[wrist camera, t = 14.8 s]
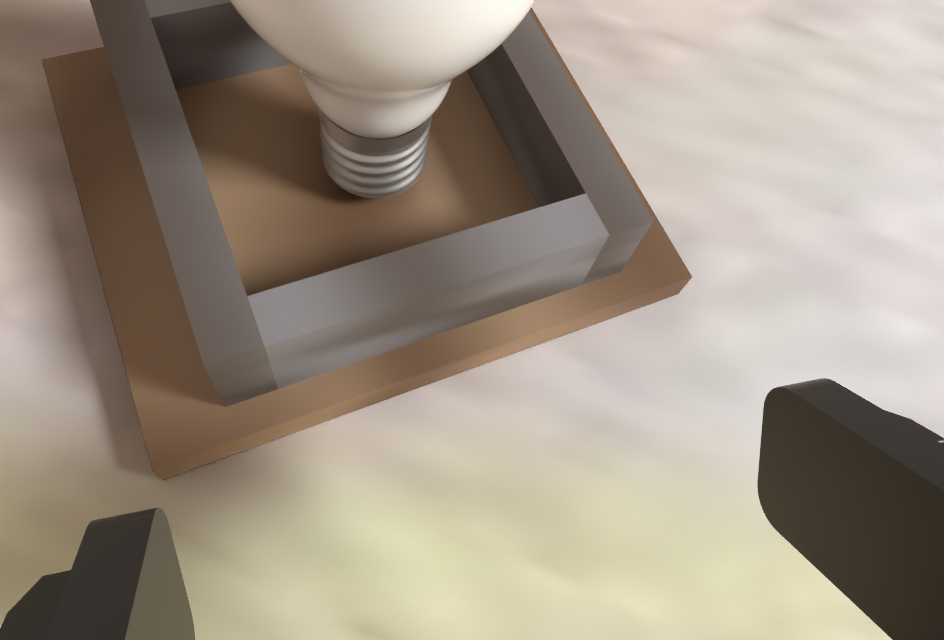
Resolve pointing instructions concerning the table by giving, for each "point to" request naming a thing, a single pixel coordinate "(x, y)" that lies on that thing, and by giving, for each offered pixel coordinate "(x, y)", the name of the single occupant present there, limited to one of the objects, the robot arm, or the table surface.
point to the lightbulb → (380, 73)
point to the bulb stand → (331, 228)
